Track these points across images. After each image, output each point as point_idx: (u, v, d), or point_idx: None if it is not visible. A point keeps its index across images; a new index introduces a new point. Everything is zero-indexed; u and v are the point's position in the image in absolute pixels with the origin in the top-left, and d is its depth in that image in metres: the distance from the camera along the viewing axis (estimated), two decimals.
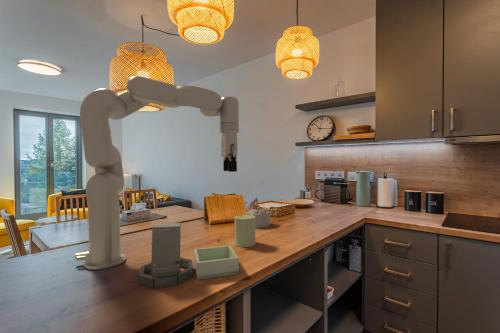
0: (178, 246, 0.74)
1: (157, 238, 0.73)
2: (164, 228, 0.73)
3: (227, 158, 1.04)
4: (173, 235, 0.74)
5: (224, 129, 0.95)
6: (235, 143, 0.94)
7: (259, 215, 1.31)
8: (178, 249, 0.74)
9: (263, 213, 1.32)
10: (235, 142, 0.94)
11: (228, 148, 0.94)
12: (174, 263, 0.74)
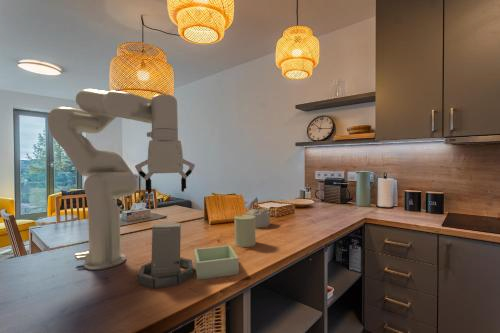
0: (178, 246, 0.74)
1: (157, 238, 0.73)
2: (164, 228, 0.73)
3: None
4: (173, 235, 0.74)
5: (174, 138, 0.74)
6: None
7: (259, 215, 1.31)
8: (178, 249, 0.74)
9: (263, 213, 1.32)
10: None
11: (182, 163, 0.76)
12: (174, 263, 0.74)
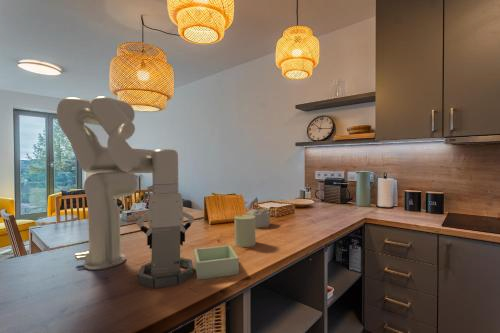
0: (178, 246, 0.74)
1: (157, 238, 0.72)
2: (164, 228, 0.73)
3: None
4: (172, 235, 0.74)
5: (174, 192, 0.74)
6: None
7: (259, 215, 1.31)
8: (178, 249, 0.74)
9: (263, 213, 1.32)
10: None
11: None
12: (174, 263, 0.74)
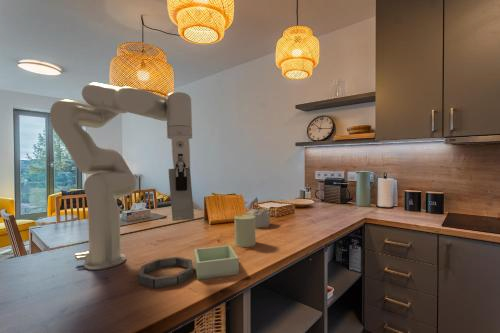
0: None
1: None
2: None
3: None
4: None
5: None
6: None
7: (259, 215, 1.31)
8: None
9: (263, 213, 1.32)
10: None
11: None
12: None
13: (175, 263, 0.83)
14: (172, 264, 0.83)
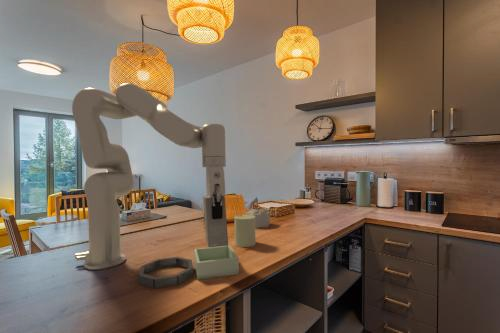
0: None
1: None
2: None
3: None
4: None
5: None
6: None
7: (259, 215, 1.31)
8: None
9: (263, 213, 1.32)
10: None
11: None
12: None
13: (175, 263, 0.83)
14: (172, 264, 0.83)
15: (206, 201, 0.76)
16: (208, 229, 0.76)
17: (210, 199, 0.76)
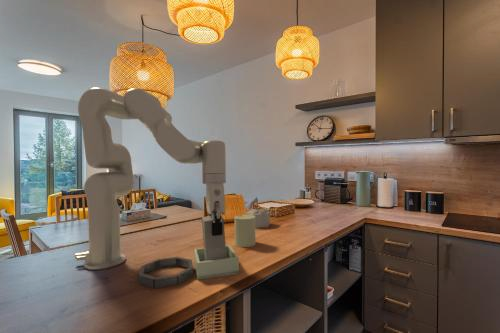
0: None
1: None
2: None
3: None
4: None
5: None
6: None
7: (259, 215, 1.31)
8: None
9: (263, 213, 1.32)
10: None
11: None
12: None
13: (175, 263, 0.83)
14: (172, 264, 0.83)
15: (205, 224, 0.76)
16: (207, 252, 0.76)
17: (209, 222, 0.76)
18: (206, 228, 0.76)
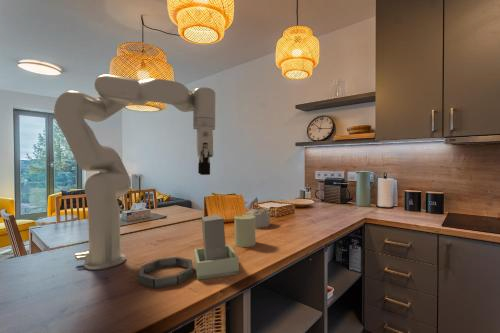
0: None
1: None
2: None
3: None
4: None
5: None
6: None
7: (259, 215, 1.31)
8: None
9: (263, 213, 1.32)
10: None
11: None
12: None
13: (175, 263, 0.83)
14: (172, 264, 0.83)
15: (205, 224, 0.76)
16: (207, 252, 0.76)
17: (209, 222, 0.76)
18: (206, 228, 0.76)
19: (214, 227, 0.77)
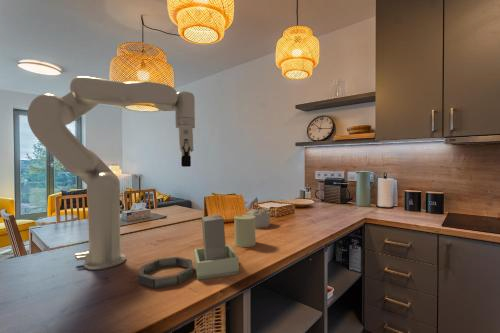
0: None
1: None
2: None
3: None
4: None
5: None
6: None
7: (259, 215, 1.31)
8: None
9: (263, 213, 1.32)
10: None
11: None
12: None
13: (175, 263, 0.83)
14: (172, 264, 0.83)
15: (205, 224, 0.76)
16: (207, 252, 0.76)
17: (209, 222, 0.76)
18: (206, 228, 0.76)
19: (214, 227, 0.77)
